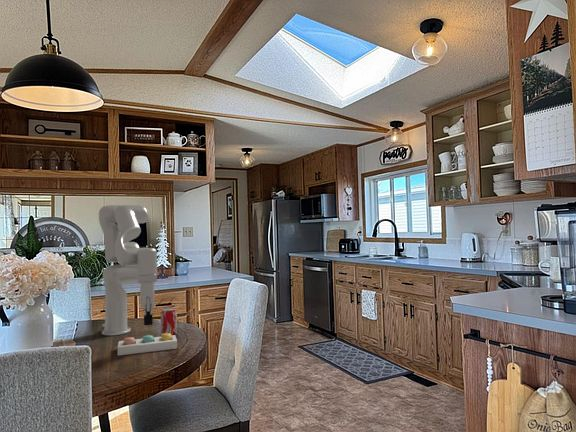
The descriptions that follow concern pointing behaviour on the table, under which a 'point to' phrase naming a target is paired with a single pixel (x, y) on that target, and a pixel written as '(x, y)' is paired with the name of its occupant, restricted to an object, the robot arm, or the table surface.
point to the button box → (147, 346)
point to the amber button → (165, 336)
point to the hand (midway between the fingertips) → (148, 324)
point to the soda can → (169, 321)
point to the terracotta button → (129, 340)
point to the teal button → (147, 338)
